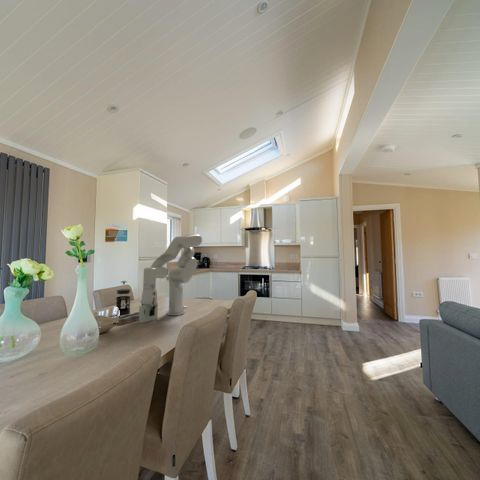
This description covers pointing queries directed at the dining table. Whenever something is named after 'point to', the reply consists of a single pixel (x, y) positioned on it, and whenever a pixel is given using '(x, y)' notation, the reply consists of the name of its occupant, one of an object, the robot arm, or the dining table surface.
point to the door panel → (146, 313)
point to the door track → (128, 318)
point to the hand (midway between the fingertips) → (148, 314)
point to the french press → (127, 304)
